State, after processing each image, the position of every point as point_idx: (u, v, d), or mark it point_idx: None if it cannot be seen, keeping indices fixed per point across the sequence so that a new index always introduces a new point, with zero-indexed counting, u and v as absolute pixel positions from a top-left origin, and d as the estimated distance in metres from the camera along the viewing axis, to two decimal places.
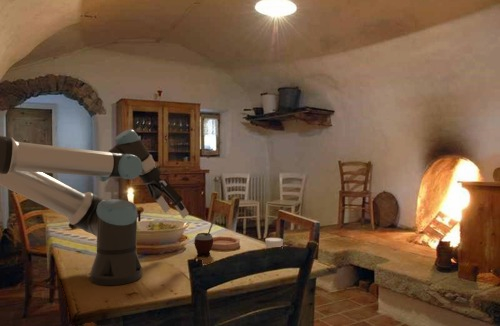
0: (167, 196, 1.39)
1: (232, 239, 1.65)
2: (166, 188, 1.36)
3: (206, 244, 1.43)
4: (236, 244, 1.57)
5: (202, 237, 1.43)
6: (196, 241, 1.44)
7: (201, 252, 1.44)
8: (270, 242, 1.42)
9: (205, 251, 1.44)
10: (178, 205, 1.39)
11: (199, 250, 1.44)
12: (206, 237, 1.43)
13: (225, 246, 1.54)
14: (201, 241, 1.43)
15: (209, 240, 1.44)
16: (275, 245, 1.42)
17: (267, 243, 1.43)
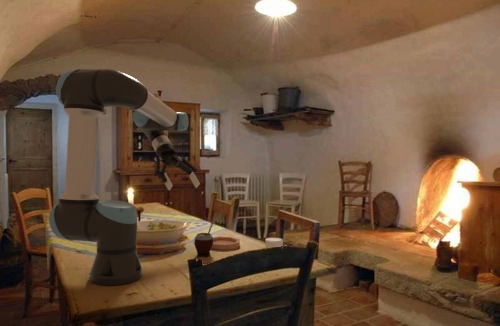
0: (185, 165, 1.63)
1: (232, 239, 1.65)
2: None
3: (206, 244, 1.43)
4: (236, 244, 1.57)
5: (202, 237, 1.43)
6: (196, 241, 1.44)
7: (201, 252, 1.44)
8: (270, 242, 1.42)
9: (205, 251, 1.44)
10: (194, 174, 1.64)
11: (199, 250, 1.44)
12: (206, 237, 1.43)
13: (225, 246, 1.54)
14: (201, 241, 1.43)
15: (209, 240, 1.44)
16: (275, 245, 1.42)
17: (267, 243, 1.43)
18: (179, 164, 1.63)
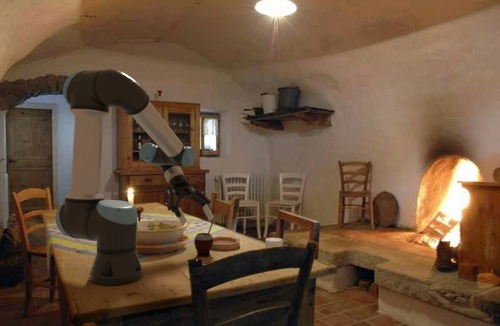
0: (199, 197, 1.58)
1: (232, 239, 1.65)
2: None
3: (206, 244, 1.43)
4: (236, 244, 1.57)
5: (202, 237, 1.43)
6: (196, 241, 1.44)
7: (201, 252, 1.44)
8: (270, 242, 1.42)
9: (205, 251, 1.44)
10: (208, 206, 1.59)
11: (199, 250, 1.44)
12: (206, 237, 1.43)
13: (225, 246, 1.54)
14: (201, 241, 1.43)
15: (209, 240, 1.44)
16: (275, 245, 1.42)
17: (267, 243, 1.43)
18: (192, 196, 1.58)
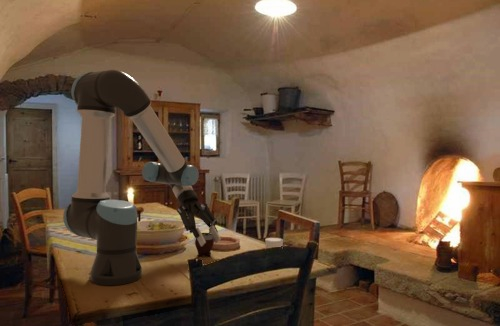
0: (206, 216, 1.50)
1: (232, 239, 1.65)
2: None
3: (207, 244, 1.43)
4: (236, 244, 1.57)
5: None
6: (197, 241, 1.44)
7: (202, 252, 1.44)
8: (270, 242, 1.42)
9: (206, 251, 1.44)
10: (214, 227, 1.49)
11: (200, 250, 1.44)
12: (207, 237, 1.44)
13: (225, 246, 1.54)
14: None
15: (210, 240, 1.44)
16: (275, 245, 1.42)
17: (267, 243, 1.43)
18: (200, 213, 1.51)
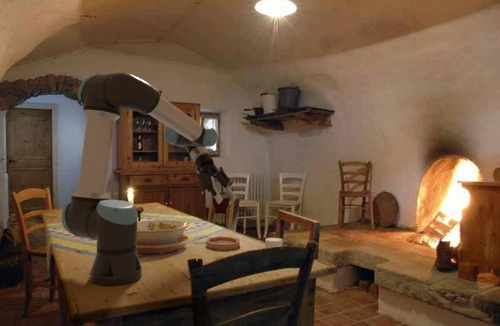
0: (222, 177, 1.62)
1: (232, 239, 1.65)
2: None
3: (224, 201, 1.54)
4: (236, 244, 1.57)
5: None
6: (214, 199, 1.55)
7: (219, 209, 1.56)
8: (270, 242, 1.42)
9: (222, 208, 1.55)
10: (230, 187, 1.61)
11: (217, 207, 1.55)
12: (223, 195, 1.55)
13: (225, 246, 1.54)
14: None
15: (226, 198, 1.55)
16: (275, 245, 1.42)
17: (267, 243, 1.43)
18: (216, 175, 1.62)
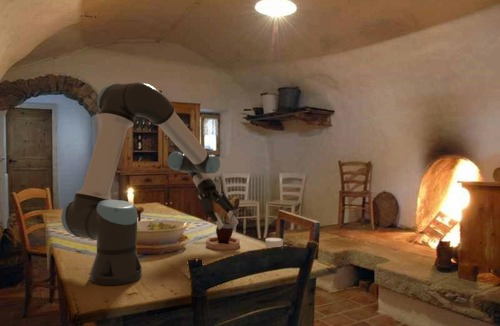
0: (224, 202, 1.65)
1: (232, 239, 1.65)
2: None
3: (227, 232, 1.58)
4: (236, 244, 1.57)
5: (224, 225, 1.59)
6: (218, 229, 1.59)
7: (221, 239, 1.59)
8: (270, 242, 1.42)
9: (225, 238, 1.59)
10: (232, 212, 1.64)
11: (220, 237, 1.59)
12: (227, 226, 1.59)
13: (225, 246, 1.54)
14: (222, 229, 1.58)
15: (230, 228, 1.59)
16: (275, 245, 1.42)
17: (267, 243, 1.43)
18: (219, 200, 1.65)
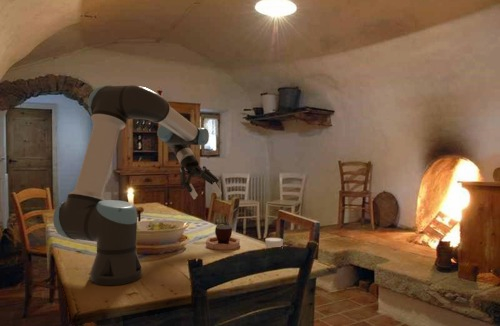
0: (208, 176, 1.75)
1: (232, 239, 1.65)
2: None
3: (226, 232, 1.58)
4: (236, 244, 1.57)
5: (222, 226, 1.58)
6: (217, 230, 1.59)
7: (221, 240, 1.59)
8: (270, 242, 1.42)
9: (225, 239, 1.59)
10: (216, 184, 1.75)
11: (219, 238, 1.59)
12: (226, 226, 1.59)
13: (225, 246, 1.54)
14: (221, 230, 1.58)
15: (228, 229, 1.59)
16: (275, 245, 1.42)
17: (267, 243, 1.43)
18: (202, 175, 1.75)
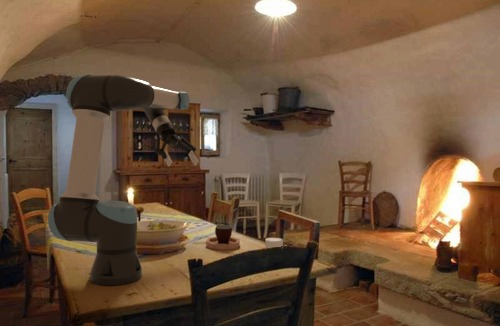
0: (185, 144, 1.69)
1: (232, 239, 1.65)
2: None
3: (226, 232, 1.58)
4: (236, 244, 1.57)
5: (222, 226, 1.58)
6: (217, 230, 1.59)
7: (221, 240, 1.59)
8: (270, 242, 1.42)
9: (225, 239, 1.59)
10: (193, 152, 1.69)
11: (219, 238, 1.59)
12: (226, 226, 1.59)
13: (225, 246, 1.54)
14: (221, 230, 1.58)
15: (228, 229, 1.59)
16: (275, 245, 1.42)
17: (267, 243, 1.43)
18: (179, 143, 1.69)
